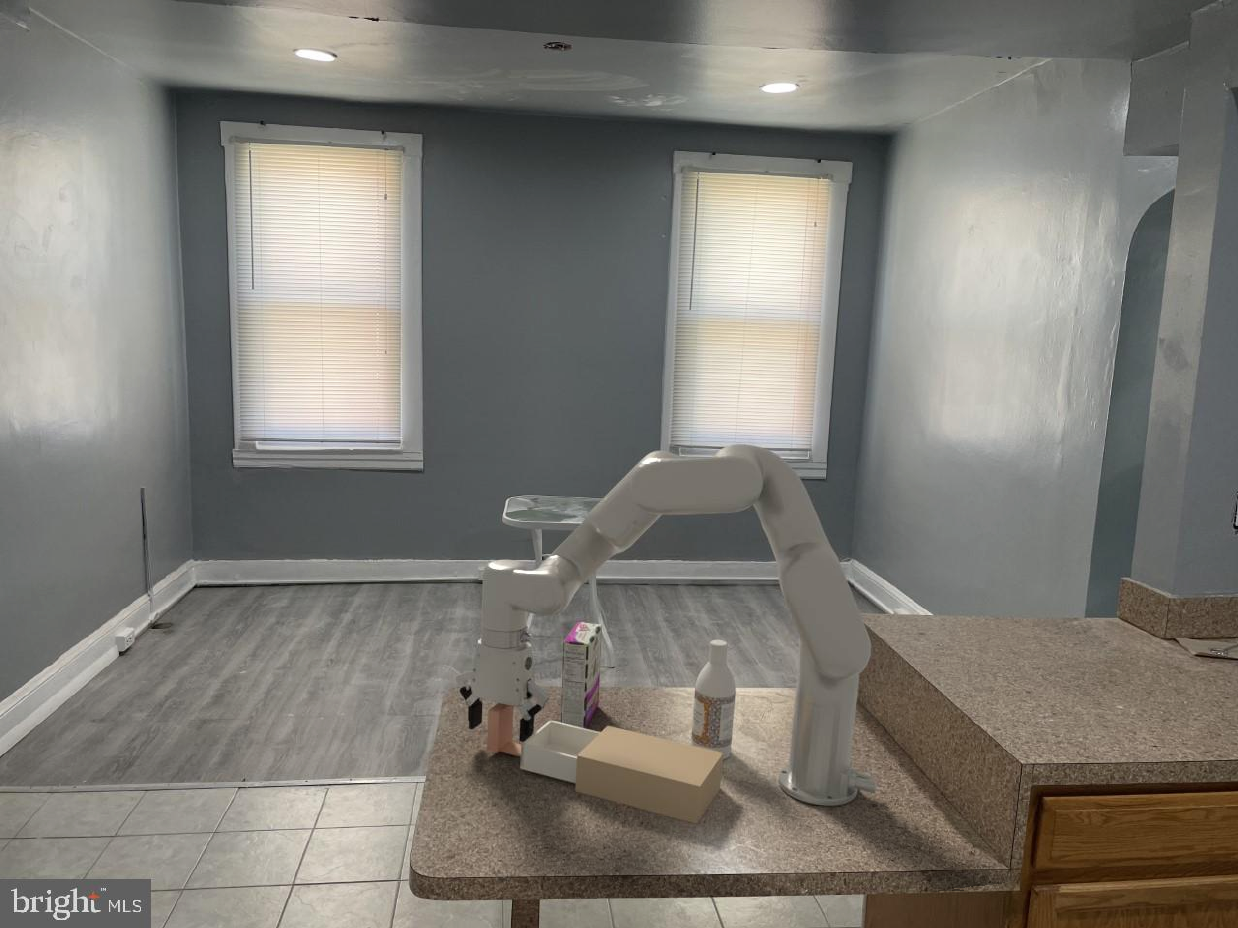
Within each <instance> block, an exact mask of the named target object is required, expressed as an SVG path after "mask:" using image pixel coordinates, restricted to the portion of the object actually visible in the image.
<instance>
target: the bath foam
mask: <svg viewBox="0 0 1238 928" xmlns="http://www.w3.org/2000/svg"><path fill="white" fill-rule="evenodd" d="M727 654H728V642H727V641H725V640H722V639H713V640H711V641H710V643H709V657H708V662H707V663H706V664H705V666H704V667H703V668H702V670H701V671H700V672H699V674H698V675H697V679H696V681H695V686H694V697H693V711H692V712H693V713H692V724H691V742H690V745H692V746H696V747H700V748H704V749H708V750H713V751H717V752H721V753H723V760H726V759H728V758H729V757H730V756H731V752H732V742H733V731H734V719H735V707H736V706H735V705H736V696H737V695H736V693H737V691H736V690H737V689H736V688H737V687H736V681H735V678H734V675H733V673H732V671H731V669H730V667H729V665H728V664H727V656H728V655H727ZM723 760H722V761H723Z"/></svg>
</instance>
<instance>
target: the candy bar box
mask: <svg viewBox="0 0 1238 928" xmlns="http://www.w3.org/2000/svg"><path fill="white" fill-rule="evenodd" d="M602 628H603V624H601V623H593V622H585V621H578V622H577V623H576V624H575V626H574V627H573V629H572V630H571V631H570V632H569V634H567V636H566V637H565V639H564V640H563V643H562V644H563V647H562V648H563V649H562V669H561V673H562V675H561V676H562V677H561V678H562V679H561V680H562V681H561V682H562V683H561V703H560V705H561V707H560V723H564V724H569V725H573V726H577V727H581V728H585V729H587V727H588V725H589V724H590V721H591V719H592V718H593V716H594V715H595V713H596V710H597V709H598V707H599V706H600V703H599V700H600V699H599V698H600V676H601V658H602V657H601V653H602V630H603V629H602Z"/></svg>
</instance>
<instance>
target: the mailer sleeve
mask: <svg viewBox="0 0 1238 928" xmlns="http://www.w3.org/2000/svg"><path fill="white" fill-rule="evenodd" d="M600 732H601V733H600V734H599V735H598V736H597V737H596V738H594V739H593V740H592V741H591V742H590V743H589V744H588V745H587V746H586V747H585V748H584V749H583V750H582V751H581V752H580V753H579V754H578V755H577V768H576V783H575V789H574V790H575V792H577V793H581V794H583V795H588V796H592V797H595V798H599V799H601V800H602V799H603V800H606V801H610V802H614V803H618V804H621V805H625V806H628V807H629V806H630V807H633V808H635V809H636V808H637V809H640V810H643V811H644V810H645V811H647V812H652V813H653V814H654V813H655V814H659V815H662V816H666V817H671V818H673V819H677V820H680V821H684V822H688V823H692V824H696V825H698V824H699V821H701V819H702V817H703V816H704V815H705V813H706V811H707V810H708V808H709V807H710V805H711V803H712V802H713V800H714V798H715V797H716V796H717V794H718V792H719V791H720V789H721V783H722V772H723V753H721V752H717V751H713V750H708V749H704V748H700V747H696V746H692V745H691V744H687V743H683V742H678V741H674V740H669V739H666V738H662V737H658V736H653V735H649V734H646V733H645V734H644V733H641V732H637V731H632V730H627V729H623V728H619V727H615V726H611V725H606V726H605V728H603V730H602V731H600Z"/></svg>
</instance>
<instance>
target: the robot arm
mask: <svg viewBox="0 0 1238 928" xmlns="http://www.w3.org/2000/svg"><path fill="white" fill-rule="evenodd" d="M752 506H753V509H755V511H756V514H757V516H758V518H759V520H760V525H761V526H762V529H763V531H764V533H765V535H766V537H767V539H768V543H769V545H770V548H771V551H772V552H773V556H774V558H775V562H776V567H777V576H778V581H779V586H780V590H781V594H782V596H783V599H784V601H785V604H786V606H787V609H788V612H789V614H790V617H791V618H792V621H793V623H794V627H795V630H796V632H797V634H798V637H799V643H798V644H799V645H798V649H799V650H798V667H797V676H796V677H797V679H796V690H795V700H794V707H793V709H794V711H793V719H792V721H793V722H792V731H791V742H790V753H789V764H787V765H785V766H783V767H782V768H780V770H779V773H778V778H777V779H778V780H777V781H778V782H777V783H778V785H779V786H780V788H781V789H782V790H783V791H784V792H785V793H786V794H788V795H789V796H791V797H792V798H794V799H796V800H798V801H801V802H804V803H807V804H812V805H816V806H824V807H834V806H842V805H845V804H848V803H850V802H852V801H853V800H855V798H856V797H857V795H858V790H861V791H863V792H867V793H870V794H876V793H877V789H878V788H877V787H878V781H877V780H872V773H867V772H860V771H857V769H855V768H854V764H855V760H853V759H851V757H852V749H853V748H852V747H853V740H854V739H853V738H854V727H855V720H856V719H855V718H856V709H857V708H856V707H857V702H858V693H859V692H858V691H859V682H860V681H859V680H860V673H862V672H863V671H864V669H865V668H866V667H867V665H868V664H869V661H870V659H871V654H872V653H871V652H872V643H871V639H870V636H869V633H868V631H867V628H866V625H865V623H864V619H863V618H862V615H861V612H860V610H859V607H858V604H857V602H856V599H855V597H854V594H853V592H852V589H851V587H850V584H849V582H848V581H849V580H847V576H846V574H845V571H844V569H843V567H842V564H841V562H840V560H839V557H838V555H837V554H836V552H835V551H834V549H833V548H832V546H831V543H830V542H829V539H828V537H827V535H826V533H825V531H824V528H823V525H822V522H821V521H820V518H819V516H818V513H817V511H816V510H815V509H816V508H815V507H814V505H813V502H812V500H811V498H810V495H809V494H808V491H807V489H806V487H805V485H804V483H803V481H802V479H801V478H800V477H799V475H798V473H797V472H796V470H794V468H793V467H792V466H791V465H790V464H789V463H788V462H787V461H786V460H785V459H784V458H782V457H781V456H779V455H777V454H776V453H775V452H773V451H771V450H769V449H766V448H763V447H761V446H758V445H753V444H746V443H745V444H741V443H740V444H739V443H738V444H732V445H727V446H725V447H722V448H721V449H720V450H718V451H717V452H715V454H714V455H713V456H711V457H710V456H709V457H696V458H693V457H692V458H688V457H687V458H680V457H679V456H678V455H677V454H675V453H673V452H671V451H668V450H654V451H652V452H650V453H648V454H646V455H645V456H644V457H643V458H642V459H640V460H639V462H637V464H635V465H634V467H632V468H631V470H630V471H629V472H628V473H626V475H625V476H623V478H622V479H621V480H619V482H617V484H616V485H615V486H614V487H613V488H612V489H611V490H609V492H608V493H607V494H606V495H605V496H603V498H602V499H601V500H600V501H599V502H598V503H597V504H596V505H595V506H593V508H592V509H591V510H590V511H589V512H588V513H587V514H586V516H585V518H584V519H583V521H582V522H581V523H580V524H579V525H578V526H577V527H576V528H575V529H574V530H573V531H572V532H571V533H570V534H569V535H568V537H566V538H565V540H563V541H562V543H560V544H559V546H558V547H557V548H556V549H554V550H553V552H552V553H550V555H549V556H547V558H546V559H544V561H542V563H541V564H540V565H539V566H538V568H536V569H534V570H529V568H528V566H527V564H526V563H523V562H521V561H518V560H514V559H498V560H494V561H493V560H492V561H490V562H489V563H487V564H486V565H485V566H484V568H483V572H482V573H483V574H482V590H481V591H482V595H481V596H482V598H481V599H482V601H481V627H480V639H478V640H477V643H476V647H475V650H474V655H473V661H472V669H471V670H467V671H466V672H462V673H459V675H457V676H456V677H455V681H456V684H457V686H458V688H459V693H460V694H461V696H462V697H463V699H464V700H465V702H464V703H465V705H466V706H467V707H468V708H467V709H468V711H467V721H468V728H469V730H474V729H475V728H477V727H478V726H479V725H481V724H482V723H483V701H482V700H484V701H489V702H493V703H496V704H498V703H500V704H505V705H509V706H514V708H515V707H516V708H517V710H518V711H519V713H520V714H521V719H520V721H519V742H521V743H523V742H524V741H526V740H527V739H528V738H529V737H530V736H531V735H533V734H534V728H535V727H534V725H535V716H536V715H537V714H538V713H539V712H541V711H542V710H544V708H545V705H547V703H548V702H549V701H550V698H551V697H550V694H549V693H548V692H547V691H546V690H544V689H543V688H541V686H539V684H537V683H536V679H535V678H536V677H535V675H536V673H535V662H534V660H535V659H534V653H533V648H532V644H531V643H532V642H533V641H534V634H533V633H530V632H529V627H528V616H529V615H528V613H529V614H533V615H537V616H541V617H555V616H558V615H559V614H561V613H563V612H564V611H565V610H566V609H567V607H568V606H569V604H570V603H571V601H572V599H573V597H574V595H575V594H576V593H577V591H578V590H579V589H580V587H581V586H582V585H583V584H584V583H585V582H586V581H588V579H589V578H591V577H592V576H593V574H594V573H595V572H596V571H598V569H600V567H602V566H603V564H605V563H606V562H607V561H609V559H611V558H613V556H615V555H617V554H620V553H623V552H625V551H626V550H628V549H629V548H630V547H632V546H633V544H635V542H636V541H637V540H638V539H640V537H641V536H643V534H644V533H645V532H646V531H648V529H650V527H652V526H653V524H655V522H656V521H658V520H659V519H660V517H662V516H663V515H665V516H666V515H668V516H670V515H671V516H673V515H684V516H685V515H705V514H706V515H707V514H729V513H739V512H742V511H744V510H747V509H749V508H751V507H752ZM469 680H470V685H469V683H468V681H469ZM534 697H535V698H536V699H537V701H536V703H535V704H534V703H533V701H532V699H533V698H534Z"/></svg>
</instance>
